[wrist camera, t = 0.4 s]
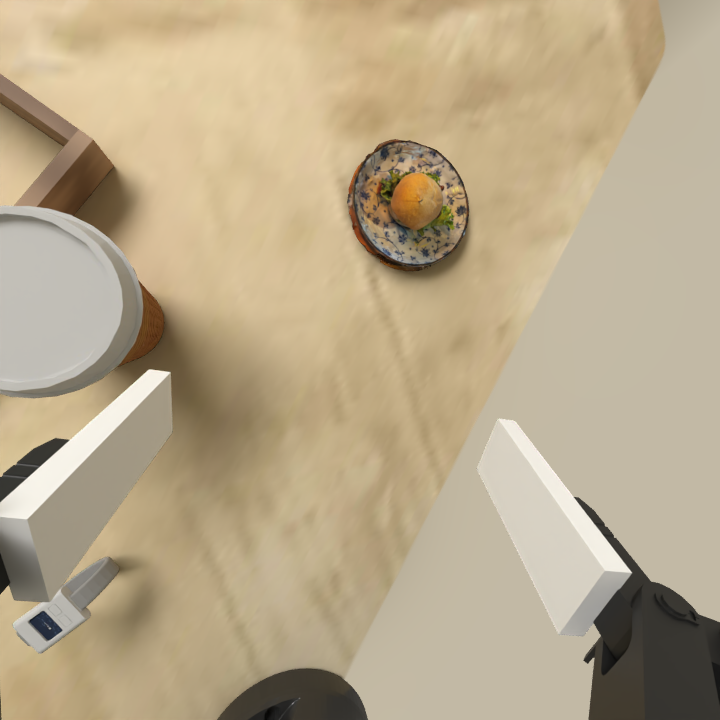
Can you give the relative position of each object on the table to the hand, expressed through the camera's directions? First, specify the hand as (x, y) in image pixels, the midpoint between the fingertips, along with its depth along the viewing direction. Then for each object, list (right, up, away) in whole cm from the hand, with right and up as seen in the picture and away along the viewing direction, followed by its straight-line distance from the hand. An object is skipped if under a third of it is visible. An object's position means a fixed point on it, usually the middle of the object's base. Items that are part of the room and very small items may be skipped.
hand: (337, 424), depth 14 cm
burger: (+5, +17, +20) cm, 27 cm away
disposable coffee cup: (-18, +6, +14) cm, 23 cm away
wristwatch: (-21, -14, +14) cm, 28 cm away
